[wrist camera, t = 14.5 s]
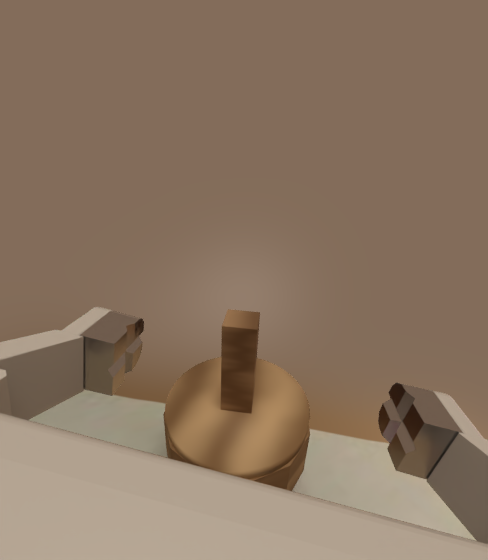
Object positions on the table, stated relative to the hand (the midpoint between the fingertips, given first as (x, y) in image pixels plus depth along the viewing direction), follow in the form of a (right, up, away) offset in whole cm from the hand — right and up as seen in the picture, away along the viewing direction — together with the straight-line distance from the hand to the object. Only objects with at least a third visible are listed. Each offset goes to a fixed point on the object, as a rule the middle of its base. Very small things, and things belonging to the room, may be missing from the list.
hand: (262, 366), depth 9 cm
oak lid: (-2, -16, +24) cm, 29 cm away
